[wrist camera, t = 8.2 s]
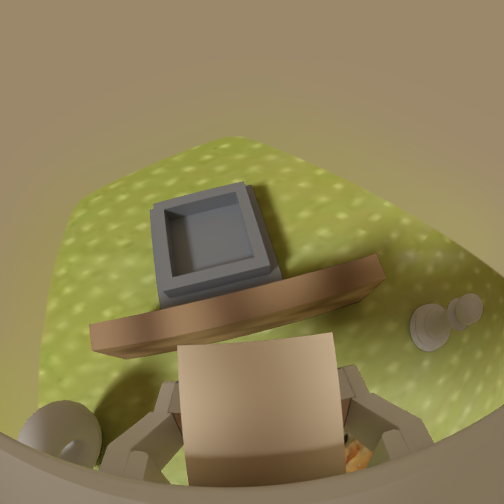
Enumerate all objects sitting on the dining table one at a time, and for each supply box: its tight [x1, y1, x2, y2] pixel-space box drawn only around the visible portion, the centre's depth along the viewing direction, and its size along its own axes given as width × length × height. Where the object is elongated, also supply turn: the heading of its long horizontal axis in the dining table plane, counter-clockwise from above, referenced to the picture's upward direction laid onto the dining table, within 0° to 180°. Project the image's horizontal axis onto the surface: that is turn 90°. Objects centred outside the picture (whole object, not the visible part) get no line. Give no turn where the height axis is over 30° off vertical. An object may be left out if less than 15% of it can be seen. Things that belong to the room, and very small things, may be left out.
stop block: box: [177, 332, 346, 487], centre depth 10 cm, size 4×4×8 cm
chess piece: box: [410, 293, 483, 352], centre depth 19 cm, size 5×5×8 cm
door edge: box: [89, 254, 387, 359], centre depth 21 cm, size 22×2×6 cm, turn 105°
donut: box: [18, 400, 102, 469], centre depth 14 cm, size 10×4×10 cm, turn 161°
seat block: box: [150, 181, 283, 310], centre depth 26 cm, size 11×11×3 cm
